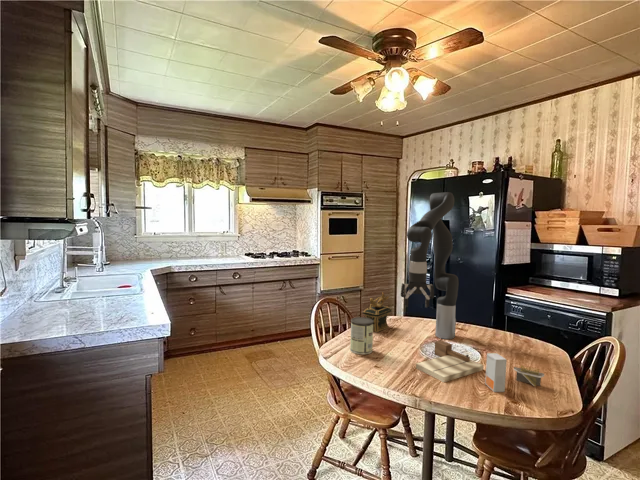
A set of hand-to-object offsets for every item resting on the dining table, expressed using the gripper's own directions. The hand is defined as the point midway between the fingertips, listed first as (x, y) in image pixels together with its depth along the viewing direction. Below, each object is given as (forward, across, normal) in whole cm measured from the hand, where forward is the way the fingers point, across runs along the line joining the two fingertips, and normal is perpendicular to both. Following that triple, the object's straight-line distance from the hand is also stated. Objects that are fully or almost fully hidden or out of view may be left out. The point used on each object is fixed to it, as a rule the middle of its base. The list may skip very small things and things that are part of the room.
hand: (416, 306), depth 160 cm
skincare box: (+22, -24, +30) cm, 44 cm away
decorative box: (+22, +15, -35) cm, 44 cm away
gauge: (+22, -15, +4) cm, 27 cm away
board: (+21, -12, +15) cm, 29 cm away
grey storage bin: (+22, -38, +23) cm, 50 cm away
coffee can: (+21, +24, +1) cm, 32 cm away
